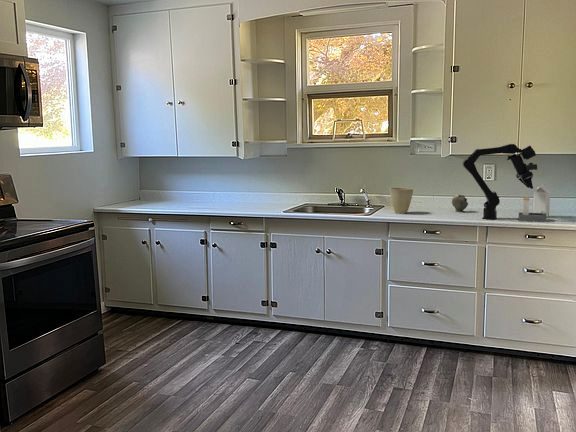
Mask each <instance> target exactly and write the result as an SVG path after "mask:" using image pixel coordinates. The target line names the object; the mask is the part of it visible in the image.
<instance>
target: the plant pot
mask: <svg viewBox="0 0 576 432" xmlns="http://www.w3.org/2000/svg"><path fill="white" fill-rule="evenodd" d="M413 192H414V188H411V187H390V188H389V196H390V199H391V205H392V207H393V211H394V213H395V214H397V213H406V214H407V213H408V211H409V208H410V205H411V202H412V199H413Z"/></svg>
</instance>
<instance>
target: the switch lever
mask: <svg viewBox="0 0 576 432" xmlns="http://www.w3.org/2000/svg"><path fill="white" fill-rule="evenodd" d="M522 213H523V215H529V213H530V197H522Z"/></svg>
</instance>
